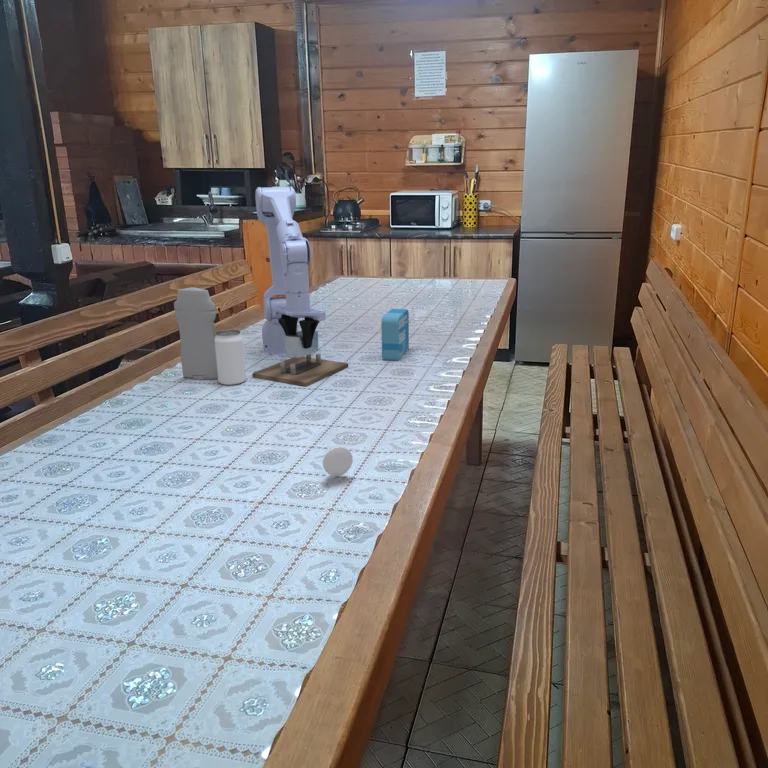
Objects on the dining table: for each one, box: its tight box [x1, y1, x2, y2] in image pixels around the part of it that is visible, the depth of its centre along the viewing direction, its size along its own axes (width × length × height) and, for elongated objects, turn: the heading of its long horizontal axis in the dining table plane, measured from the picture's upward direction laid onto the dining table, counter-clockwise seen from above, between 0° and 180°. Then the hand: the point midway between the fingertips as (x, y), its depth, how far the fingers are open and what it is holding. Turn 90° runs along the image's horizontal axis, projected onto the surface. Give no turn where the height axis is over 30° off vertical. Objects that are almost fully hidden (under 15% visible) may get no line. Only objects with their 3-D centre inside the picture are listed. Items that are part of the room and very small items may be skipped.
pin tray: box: [252, 353, 349, 387], centre depth 166 cm, size 16×18×4 cm
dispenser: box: [173, 286, 218, 381], centre depth 160 cm, size 11×4×22 cm, turn 77°
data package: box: [380, 308, 410, 362], centre depth 178 cm, size 12×4×12 cm, turn 165°
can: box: [215, 329, 247, 386], centre depth 158 cm, size 6×6×12 cm
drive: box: [285, 330, 319, 358], centre depth 165 cm, size 4×8×5 cm, turn 150°
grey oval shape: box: [322, 446, 354, 477], centre depth 111 cm, size 5×3×5 cm, turn 114°
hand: (300, 346), depth 165 cm, fingers closed on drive, 4 cm apart
